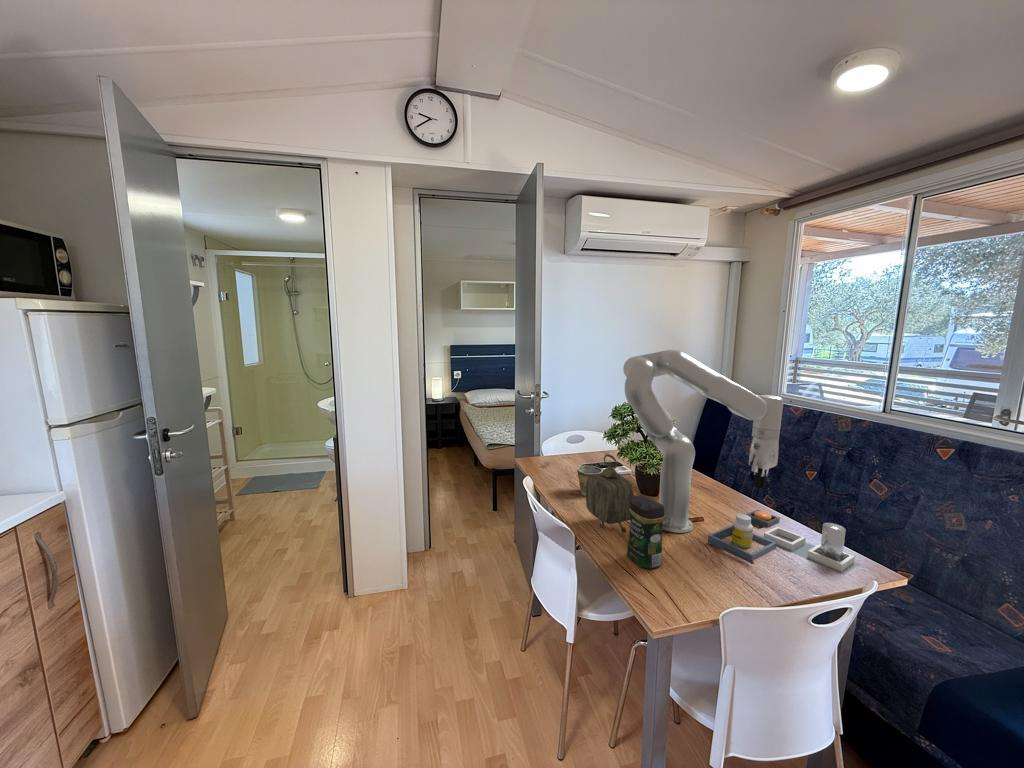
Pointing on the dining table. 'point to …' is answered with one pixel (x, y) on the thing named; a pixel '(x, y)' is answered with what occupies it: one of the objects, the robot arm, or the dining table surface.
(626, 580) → the dining table surface
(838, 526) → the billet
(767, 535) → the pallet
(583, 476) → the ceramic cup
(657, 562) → the coffee jar
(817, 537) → the dining table surface
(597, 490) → the olive drawstring pouch
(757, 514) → the button
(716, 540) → the rectangular frame
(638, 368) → the robot arm
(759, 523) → the button housing
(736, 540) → the supplement bottle
